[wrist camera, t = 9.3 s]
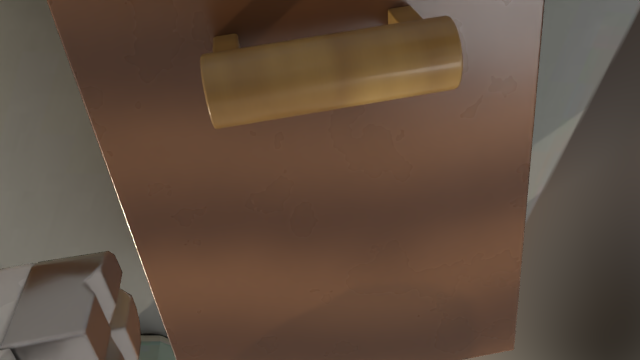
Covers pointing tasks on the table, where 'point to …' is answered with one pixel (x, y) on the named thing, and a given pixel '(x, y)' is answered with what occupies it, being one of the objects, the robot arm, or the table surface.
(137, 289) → the table surface
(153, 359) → the disposable coffee cup
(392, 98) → the lid
